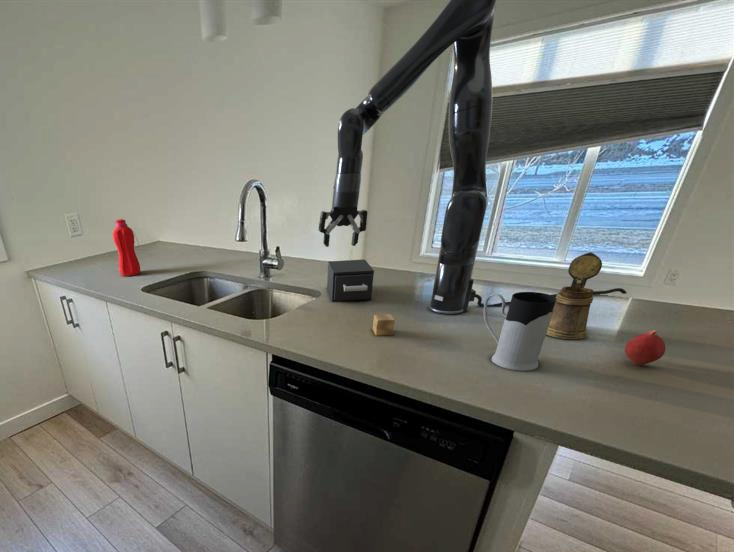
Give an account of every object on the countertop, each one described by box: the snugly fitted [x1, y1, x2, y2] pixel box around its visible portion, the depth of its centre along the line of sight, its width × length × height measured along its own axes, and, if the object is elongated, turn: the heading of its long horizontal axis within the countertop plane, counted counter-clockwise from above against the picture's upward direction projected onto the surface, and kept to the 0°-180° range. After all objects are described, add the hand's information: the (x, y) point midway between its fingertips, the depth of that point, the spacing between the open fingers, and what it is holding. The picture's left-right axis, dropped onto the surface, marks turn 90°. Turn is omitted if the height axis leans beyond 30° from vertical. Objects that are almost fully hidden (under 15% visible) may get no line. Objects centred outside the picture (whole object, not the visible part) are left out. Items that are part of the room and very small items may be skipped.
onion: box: [624, 329, 666, 367], centre depth 83 cm, size 6×6×8 cm
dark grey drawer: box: [334, 274, 374, 300], centre depth 136 cm, size 19×12×8 cm, turn 173°
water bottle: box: [112, 218, 141, 277], centre depth 189 cm, size 9×11×25 cm
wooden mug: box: [546, 251, 603, 340], centre depth 98 cm, size 9×14×18 cm, turn 139°
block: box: [372, 313, 395, 336], centre depth 109 cm, size 4×4×4 cm
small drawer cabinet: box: [326, 258, 375, 302], centre depth 140 cm, size 16×13×10 cm
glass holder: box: [483, 291, 557, 372], centre depth 89 cm, size 9×14×15 cm, turn 24°
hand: (340, 245), depth 128 cm, fingers open, 8 cm apart
